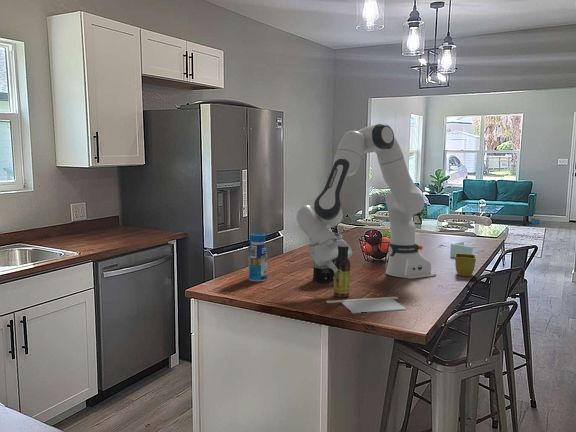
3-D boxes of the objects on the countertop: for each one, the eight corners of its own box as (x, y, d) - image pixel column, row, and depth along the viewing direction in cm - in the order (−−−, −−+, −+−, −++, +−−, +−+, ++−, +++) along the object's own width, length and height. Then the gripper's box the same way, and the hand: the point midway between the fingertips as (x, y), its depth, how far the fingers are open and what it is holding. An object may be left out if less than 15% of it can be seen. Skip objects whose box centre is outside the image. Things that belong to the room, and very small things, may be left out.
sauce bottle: (332, 293, 195) (333, 243, 193) (347, 293, 196) (349, 243, 193) (335, 298, 189) (336, 246, 186) (351, 298, 189) (352, 246, 187)
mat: (392, 299, 187) (392, 298, 187) (406, 309, 175) (406, 308, 175) (341, 303, 183) (341, 302, 183) (352, 313, 171) (352, 312, 171)
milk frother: (319, 284, 209) (319, 249, 207) (301, 276, 223) (301, 243, 221) (347, 280, 215) (348, 247, 213) (328, 272, 229) (328, 241, 227)
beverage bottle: (245, 278, 218) (245, 233, 216) (263, 276, 222) (263, 232, 219) (251, 282, 211) (251, 236, 208) (270, 280, 214) (270, 235, 212)
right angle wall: (471, 261, 257) (471, 247, 256) (450, 257, 265) (450, 244, 264) (482, 258, 264) (483, 244, 263) (461, 254, 273) (462, 241, 272)
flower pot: (474, 273, 228) (475, 254, 227) (475, 278, 220) (476, 258, 219) (454, 272, 231) (455, 253, 230) (454, 276, 223) (455, 256, 222)
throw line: (396, 297, 190) (396, 296, 190) (398, 298, 189) (398, 297, 189) (326, 301, 184) (326, 300, 184) (327, 303, 183) (327, 302, 183)
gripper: (311, 239, 186) (331, 269, 181) (343, 233, 201) (362, 260, 196) (302, 250, 190) (321, 279, 184) (334, 243, 205) (353, 270, 199)
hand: (343, 269), depth 190 cm, fingers closed on sauce bottle, 6 cm apart
